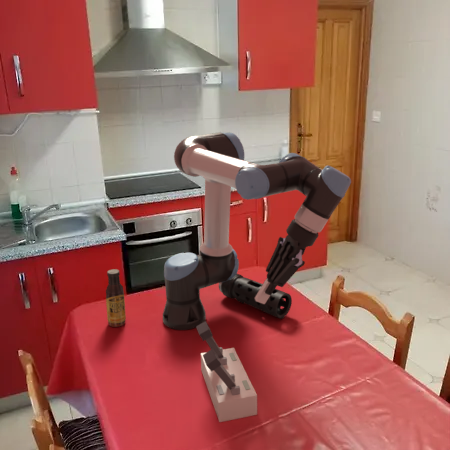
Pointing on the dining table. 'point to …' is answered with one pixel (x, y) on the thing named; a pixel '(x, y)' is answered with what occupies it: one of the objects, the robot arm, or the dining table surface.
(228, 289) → the muzzle brake
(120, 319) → the sauce bottle
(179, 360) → the dining table surface
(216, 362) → the outer lever
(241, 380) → the switch panel
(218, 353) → the inner lever
